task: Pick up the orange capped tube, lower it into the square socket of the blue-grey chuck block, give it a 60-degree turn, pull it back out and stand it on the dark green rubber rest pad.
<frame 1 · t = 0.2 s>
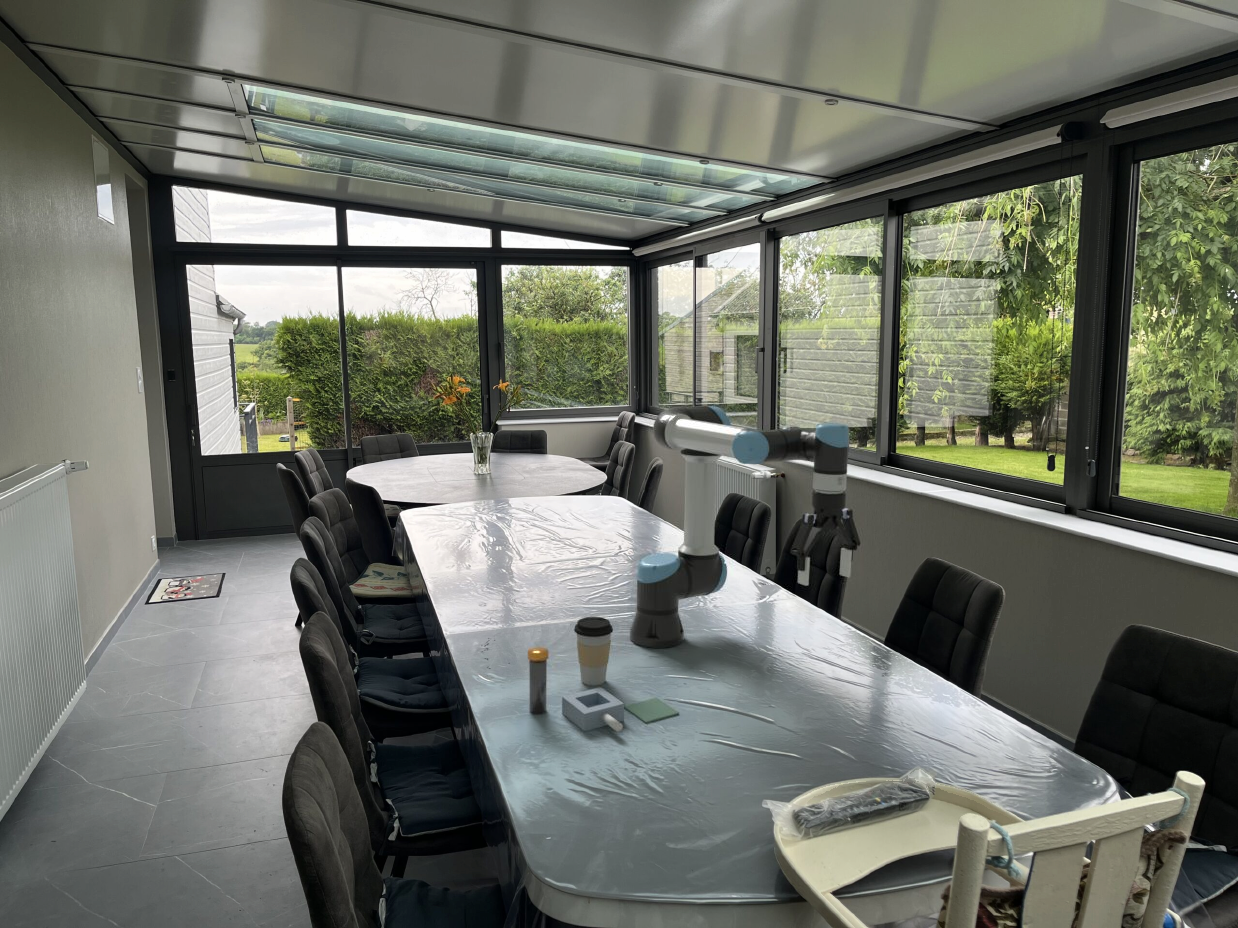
hand: (824, 579, 195), 28 cm above the table, fingers open, 13 cm apart
orange capped tube: (537, 710, 188), on the table
pad: (651, 710, 188), on the table
coffee cup: (593, 681, 205), on the table
chuck: (592, 716, 185), on the table
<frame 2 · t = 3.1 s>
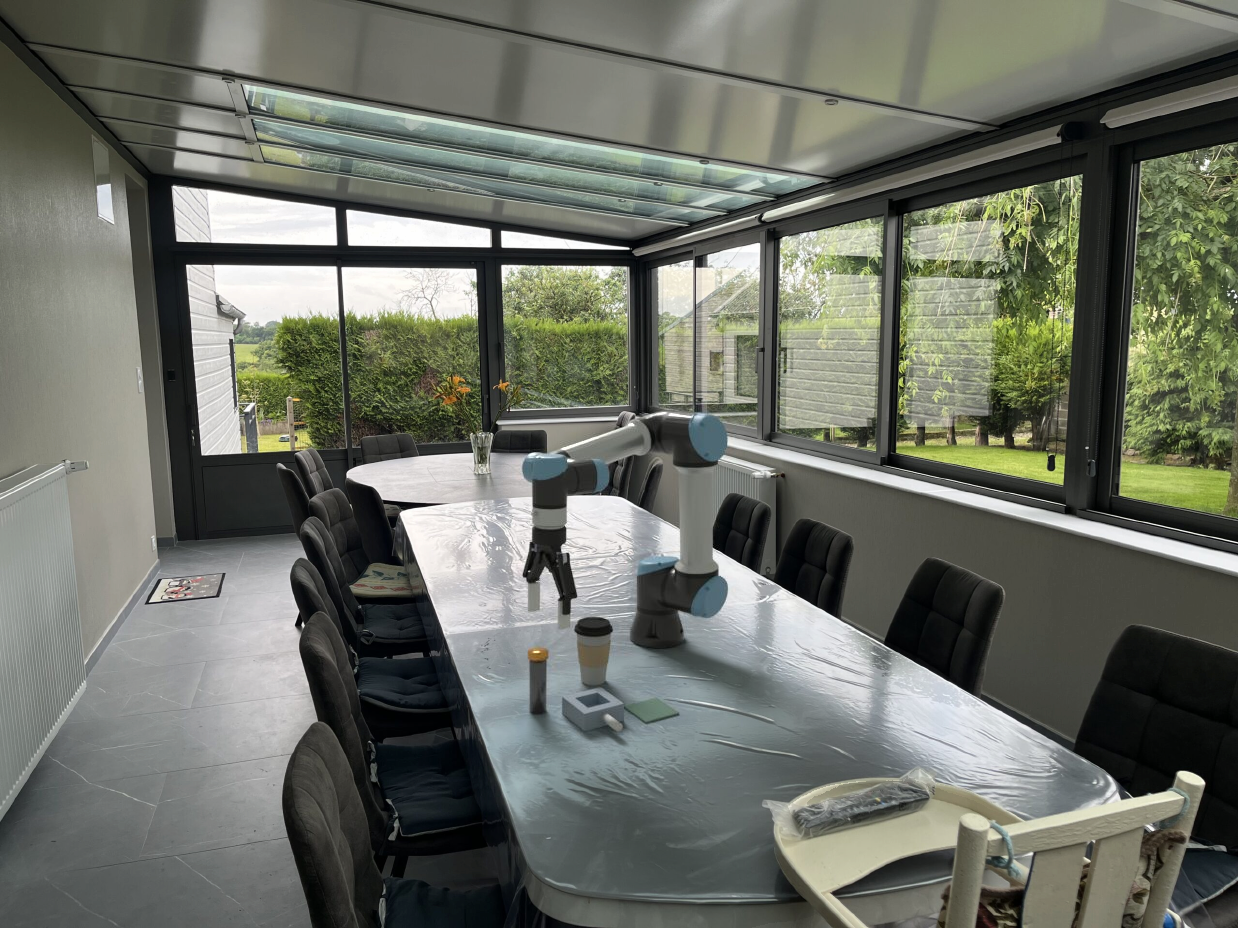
hand: (548, 619, 185), 21 cm above the table, fingers open, 13 cm apart
nothing on the table moved.
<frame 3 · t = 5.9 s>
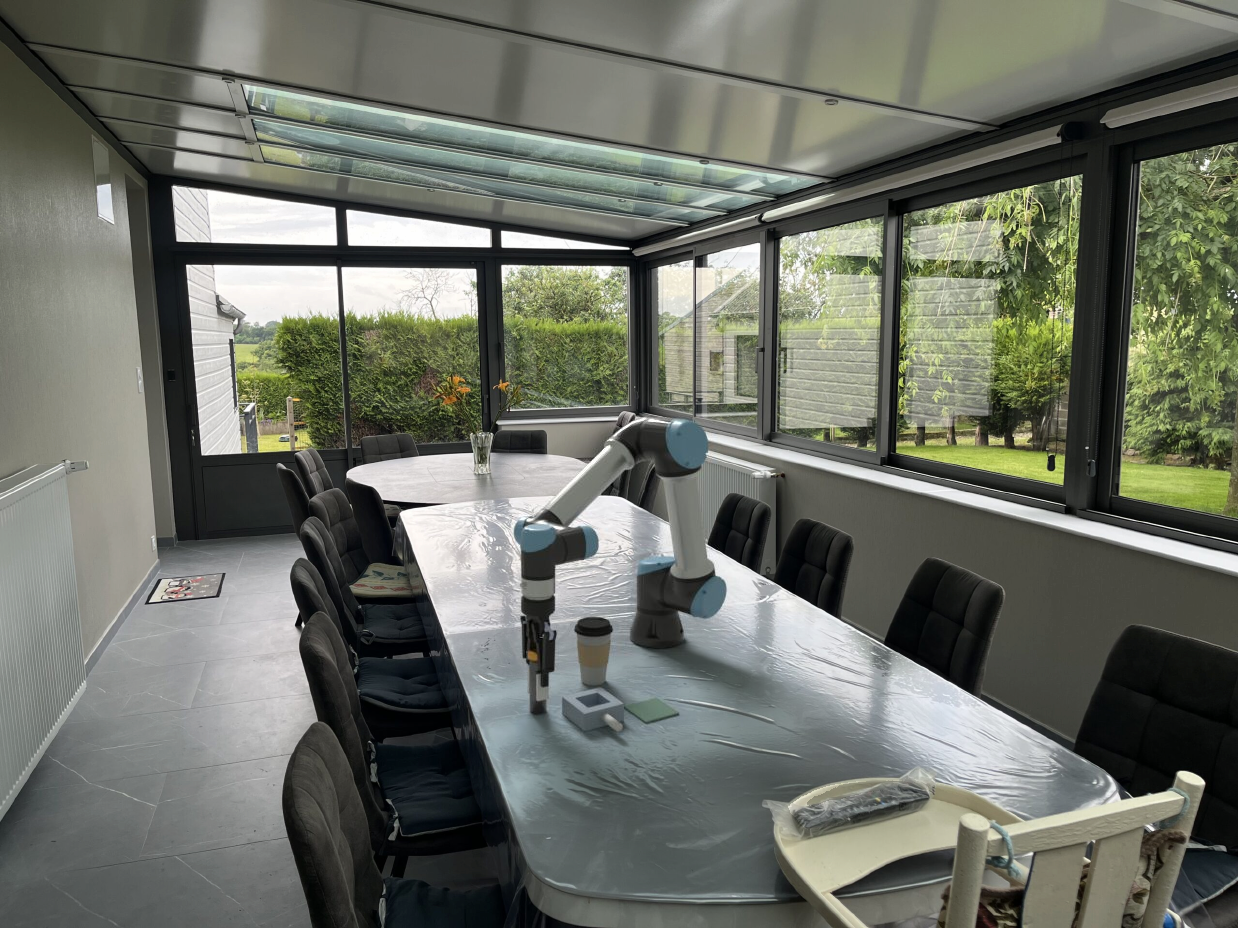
hand: (538, 695, 187), 4 cm above the table, fingers closed on orange capped tube, 4 cm apart
orange capped tube: (538, 710, 188), on the table, touching gripper
everything else where it was.
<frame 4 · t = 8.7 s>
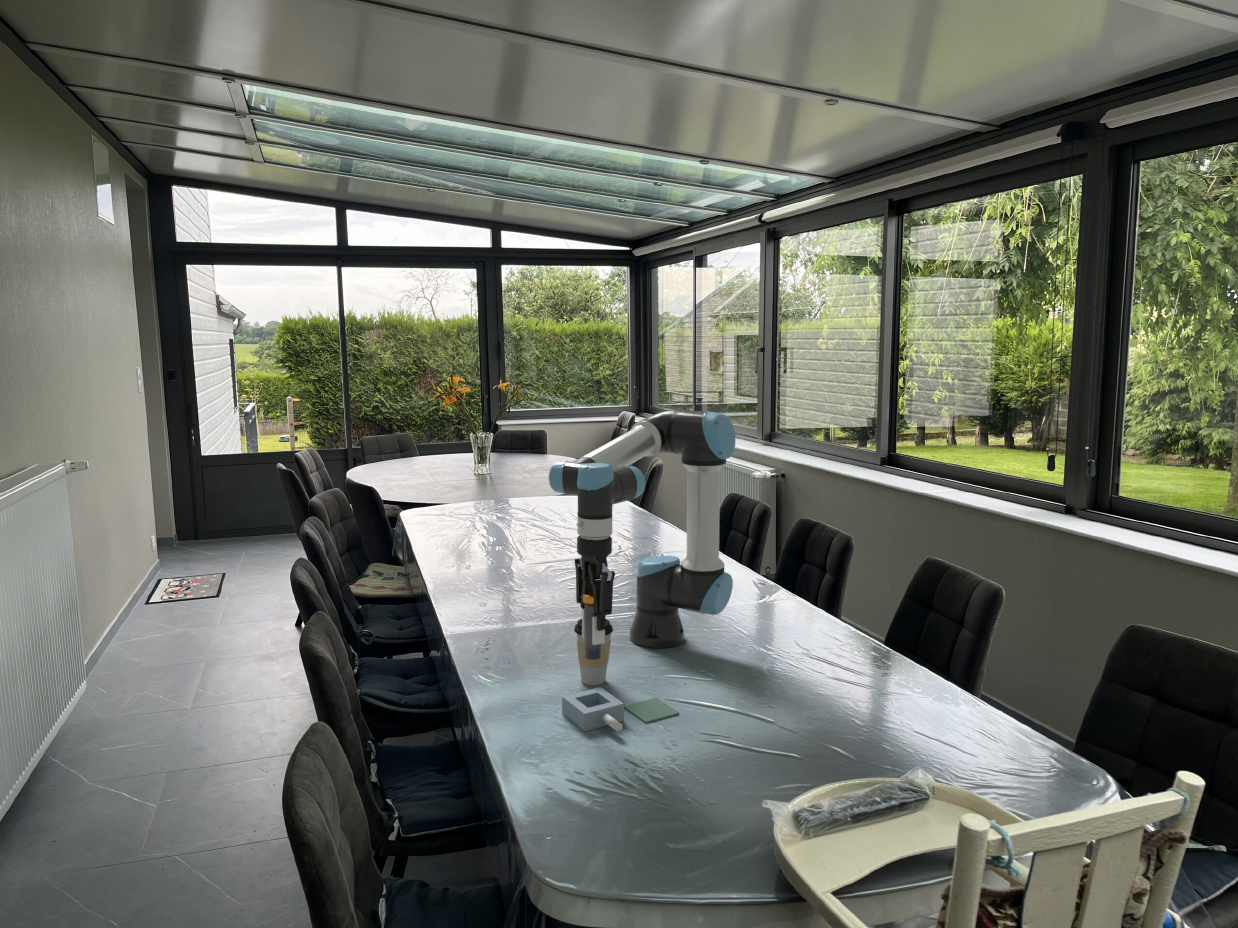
hand: (593, 640, 182), 18 cm above the table, fingers closed on orange capped tube, 4 cm apart
orange capped tube: (592, 656, 183), point 14 cm above the table, touching gripper
everything else where it was.
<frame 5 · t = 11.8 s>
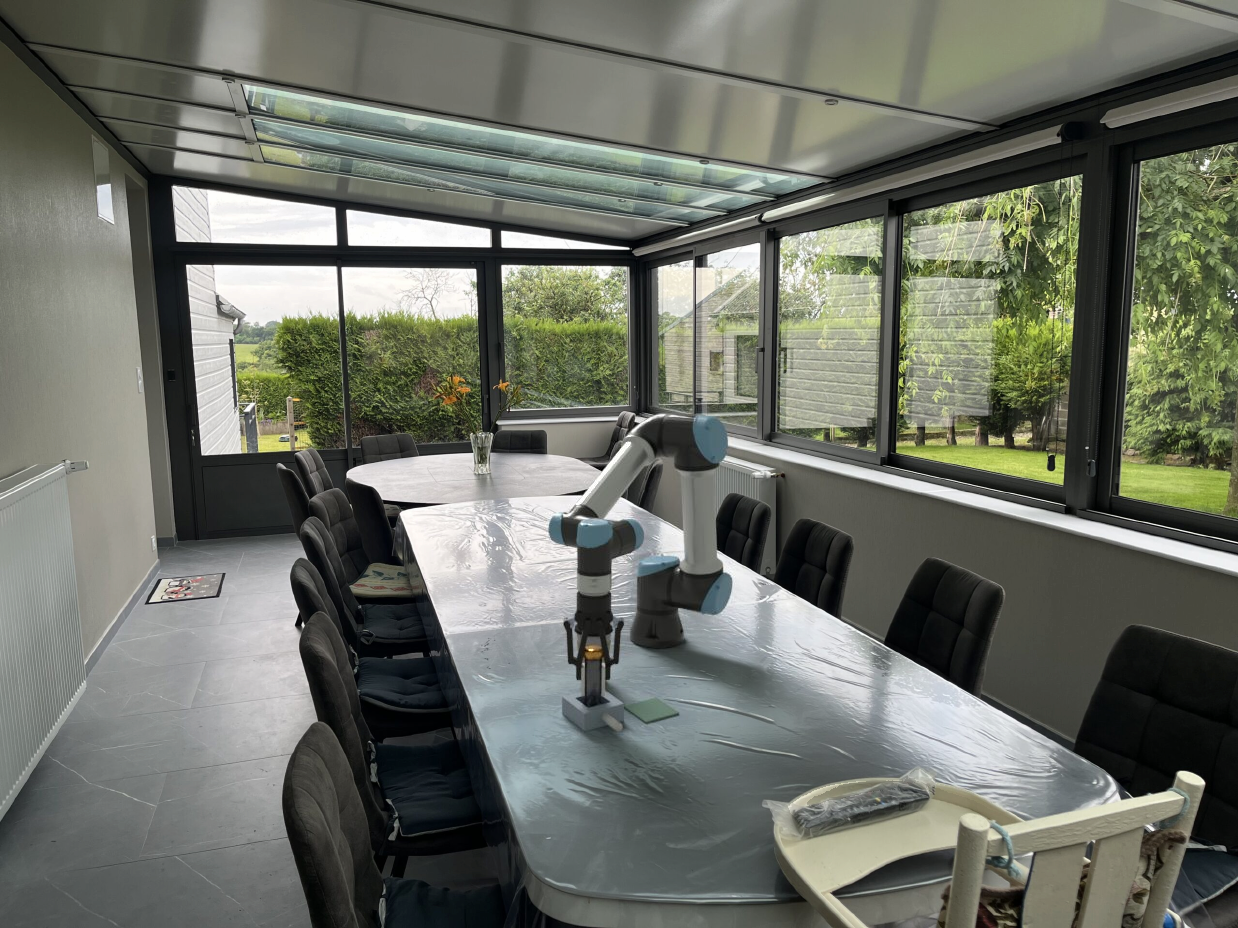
hand: (593, 693, 184), 6 cm above the table, fingers closed on orange capped tube, 4 cm apart
orange capped tube: (592, 709, 185), point 2 cm above the table, touching gripper
everything else where it was.
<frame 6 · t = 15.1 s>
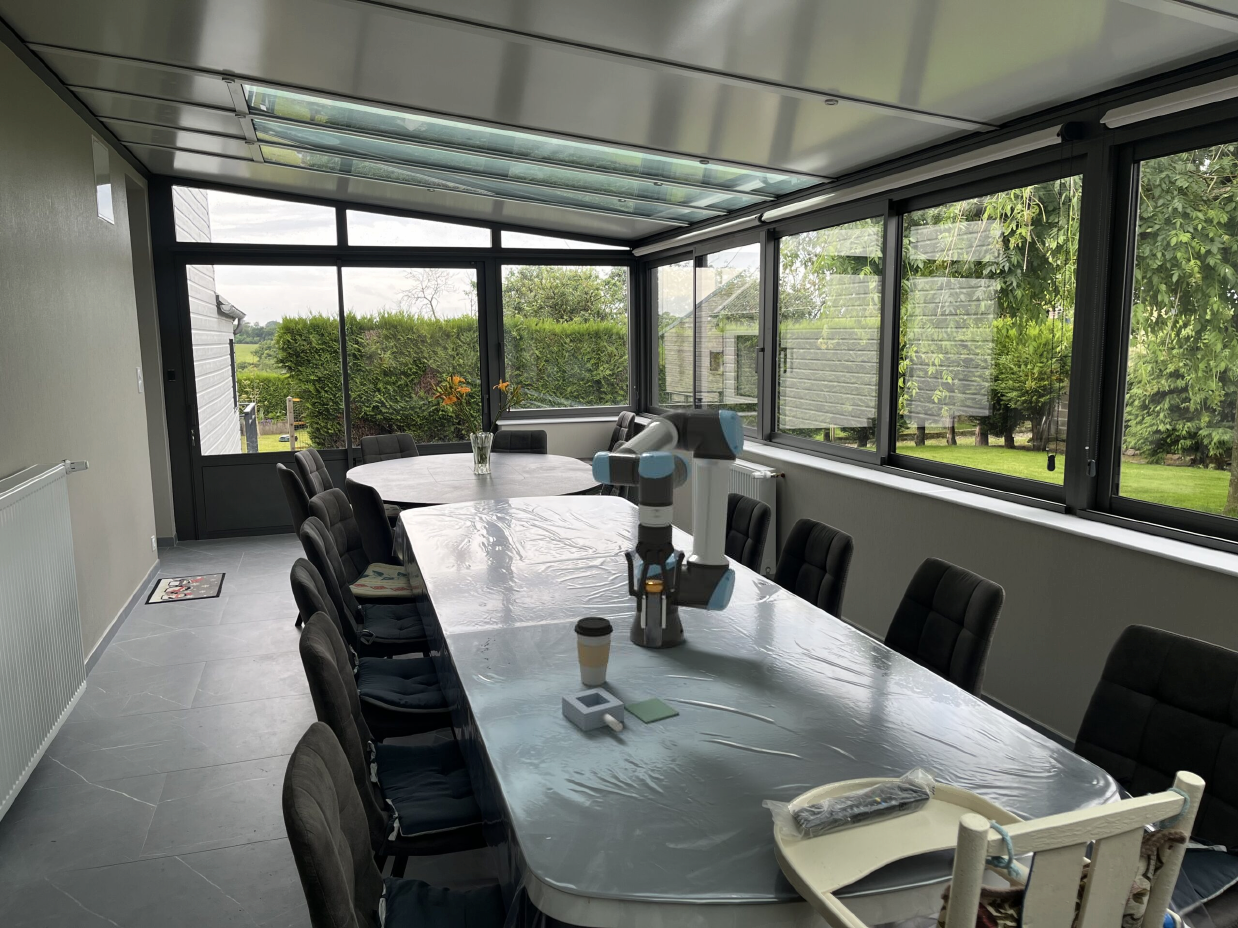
hand: (653, 625, 185), 20 cm above the table, fingers closed on orange capped tube, 4 cm apart
orange capped tube: (652, 643, 186), point 16 cm above the table, touching gripper
everything else where it was.
when the fingers open (5 cm above the table, at t = 17.9 s): orange capped tube stays where it is, resting on pad.
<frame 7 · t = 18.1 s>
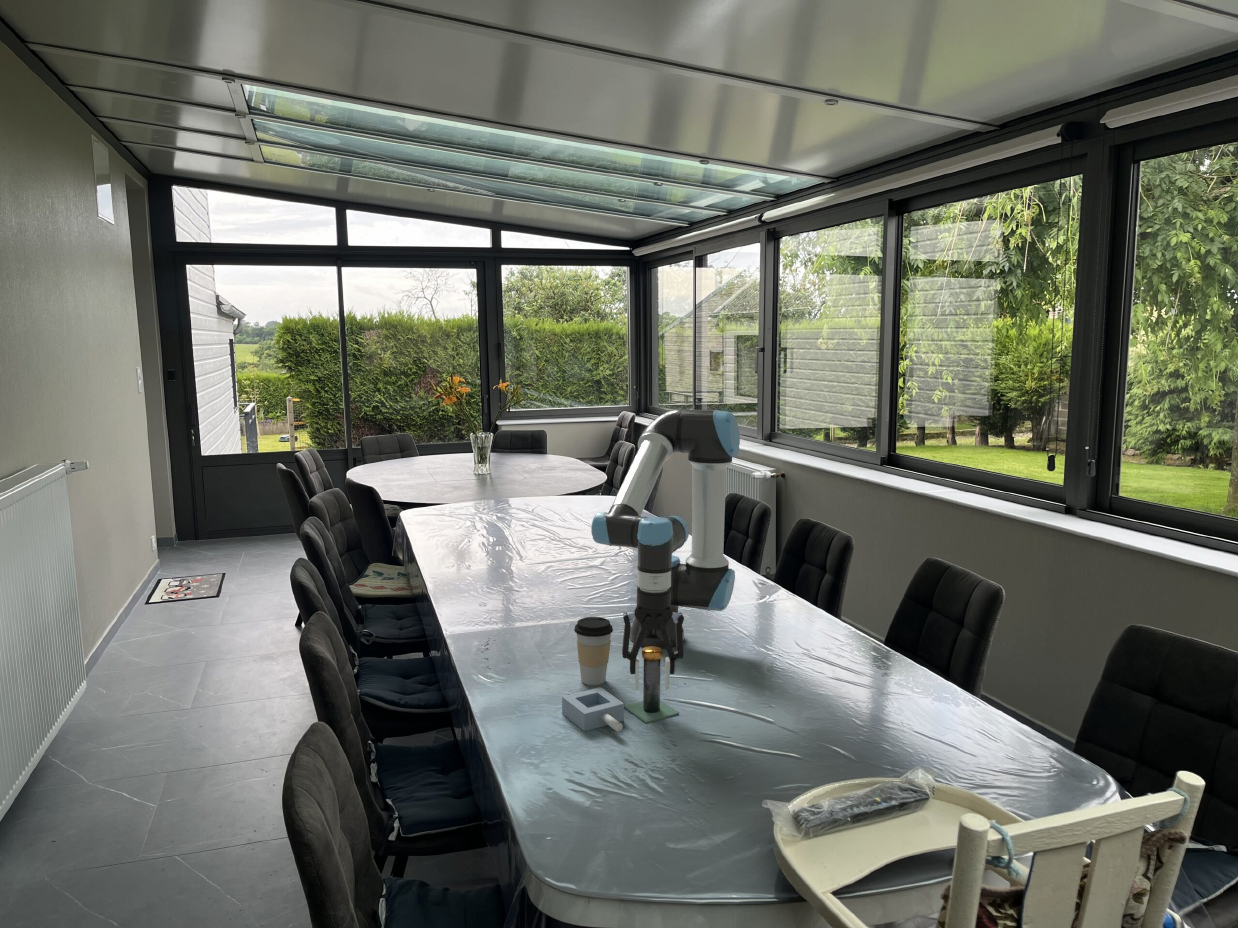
hand: (651, 686, 188), 6 cm above the table, fingers open, 6 cm apart
orange capped tube: (651, 709, 188), resting on pad
everything else where it was.
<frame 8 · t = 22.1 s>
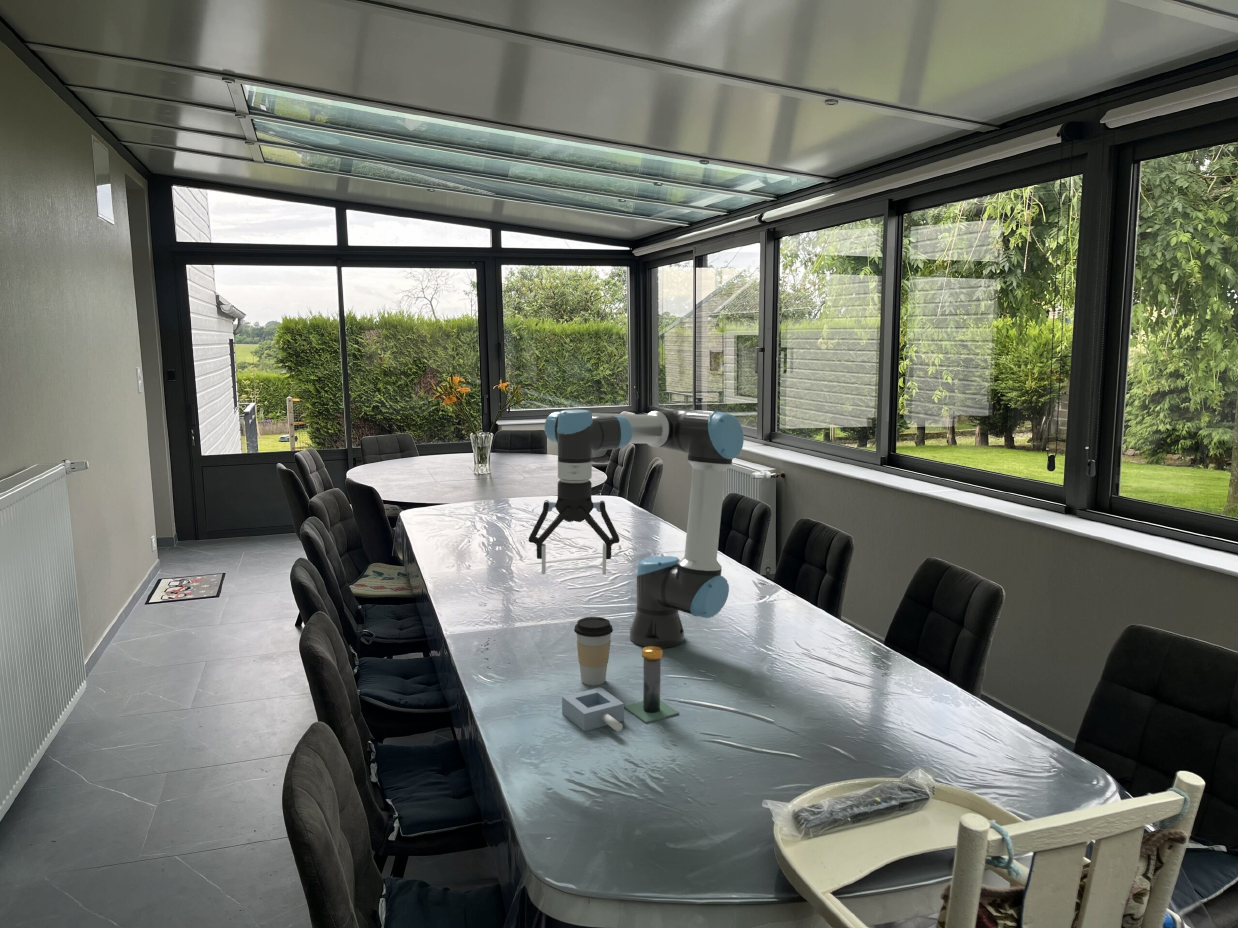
hand: (573, 572, 188), 31 cm above the table, fingers open, 13 cm apart
nothing on the table moved.
at the end: orange capped tube inside the target area on the pad (0.1 cm from its centre), point 0.4 cm above the pad's base; orange capped tube tilted 1°; the gripper is holding nothing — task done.
